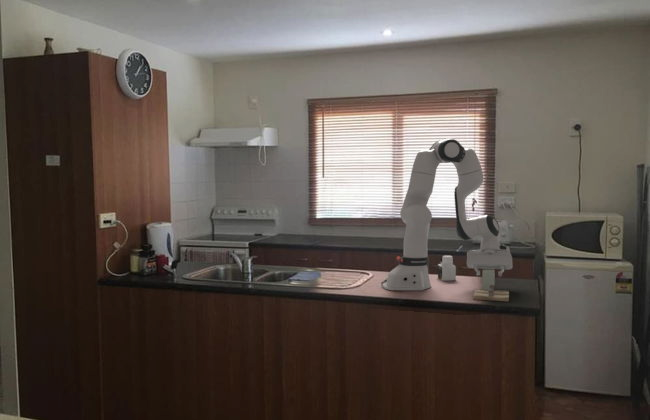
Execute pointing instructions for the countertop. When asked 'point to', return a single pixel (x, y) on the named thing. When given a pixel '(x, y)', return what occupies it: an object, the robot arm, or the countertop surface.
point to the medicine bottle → (446, 268)
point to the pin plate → (494, 298)
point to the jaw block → (487, 278)
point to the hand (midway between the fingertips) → (488, 275)
